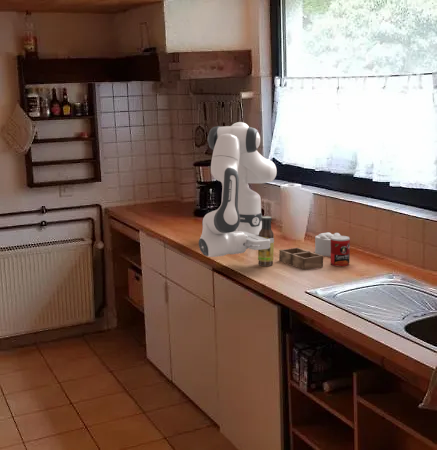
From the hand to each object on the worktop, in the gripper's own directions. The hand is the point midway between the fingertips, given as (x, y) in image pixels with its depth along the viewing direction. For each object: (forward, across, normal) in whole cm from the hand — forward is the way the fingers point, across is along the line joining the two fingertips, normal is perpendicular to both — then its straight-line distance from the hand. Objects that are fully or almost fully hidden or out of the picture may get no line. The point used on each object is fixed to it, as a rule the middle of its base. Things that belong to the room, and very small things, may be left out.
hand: (267, 238), depth 291 cm
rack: (+12, -6, +11) cm, 17 cm away
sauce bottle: (-1, 0, +11) cm, 11 cm away
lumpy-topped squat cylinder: (+33, +2, +11) cm, 35 cm away
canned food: (+25, -15, +11) cm, 31 cm away
